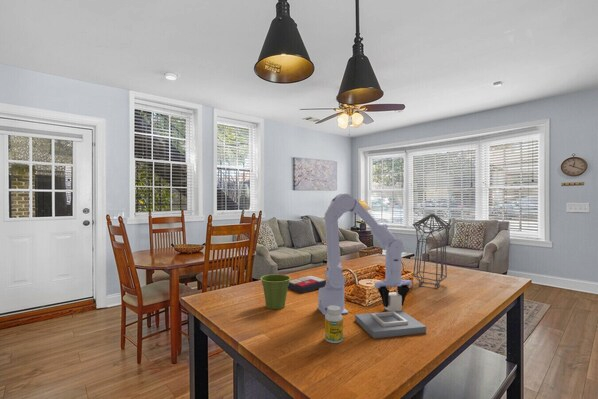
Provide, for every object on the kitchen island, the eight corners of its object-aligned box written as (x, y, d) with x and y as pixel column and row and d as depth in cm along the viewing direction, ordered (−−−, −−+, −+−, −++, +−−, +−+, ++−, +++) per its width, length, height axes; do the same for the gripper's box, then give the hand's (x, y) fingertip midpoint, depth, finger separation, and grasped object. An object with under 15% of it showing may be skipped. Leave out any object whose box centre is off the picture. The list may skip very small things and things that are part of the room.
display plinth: (373, 338, 92) (373, 328, 92) (355, 320, 106) (355, 311, 106) (426, 332, 96) (426, 323, 96) (401, 315, 110) (401, 307, 110)
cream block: (390, 312, 113) (390, 296, 113) (384, 308, 118) (384, 292, 117) (401, 311, 114) (401, 295, 114) (395, 307, 119) (395, 292, 118)
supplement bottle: (339, 334, 95) (339, 303, 95) (345, 342, 90) (345, 310, 90) (322, 336, 94) (322, 305, 94) (328, 344, 88) (328, 311, 88)
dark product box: (286, 280, 143) (311, 274, 153) (287, 289, 144) (311, 282, 153) (301, 286, 135) (326, 278, 144) (301, 295, 135) (326, 287, 144)
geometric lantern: (417, 279, 159) (419, 212, 159) (450, 285, 150) (453, 214, 150) (408, 286, 146) (411, 213, 146) (444, 293, 137) (447, 215, 137)
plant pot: (297, 306, 119) (297, 277, 119) (274, 314, 111) (274, 283, 110) (276, 299, 127) (276, 272, 127) (253, 306, 119) (254, 277, 119)
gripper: (380, 273, 110) (380, 311, 110) (416, 271, 113) (416, 307, 114) (372, 268, 117) (371, 304, 117) (406, 267, 120) (405, 301, 120)
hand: (393, 305), depth 116 cm, fingers open, 6 cm apart
